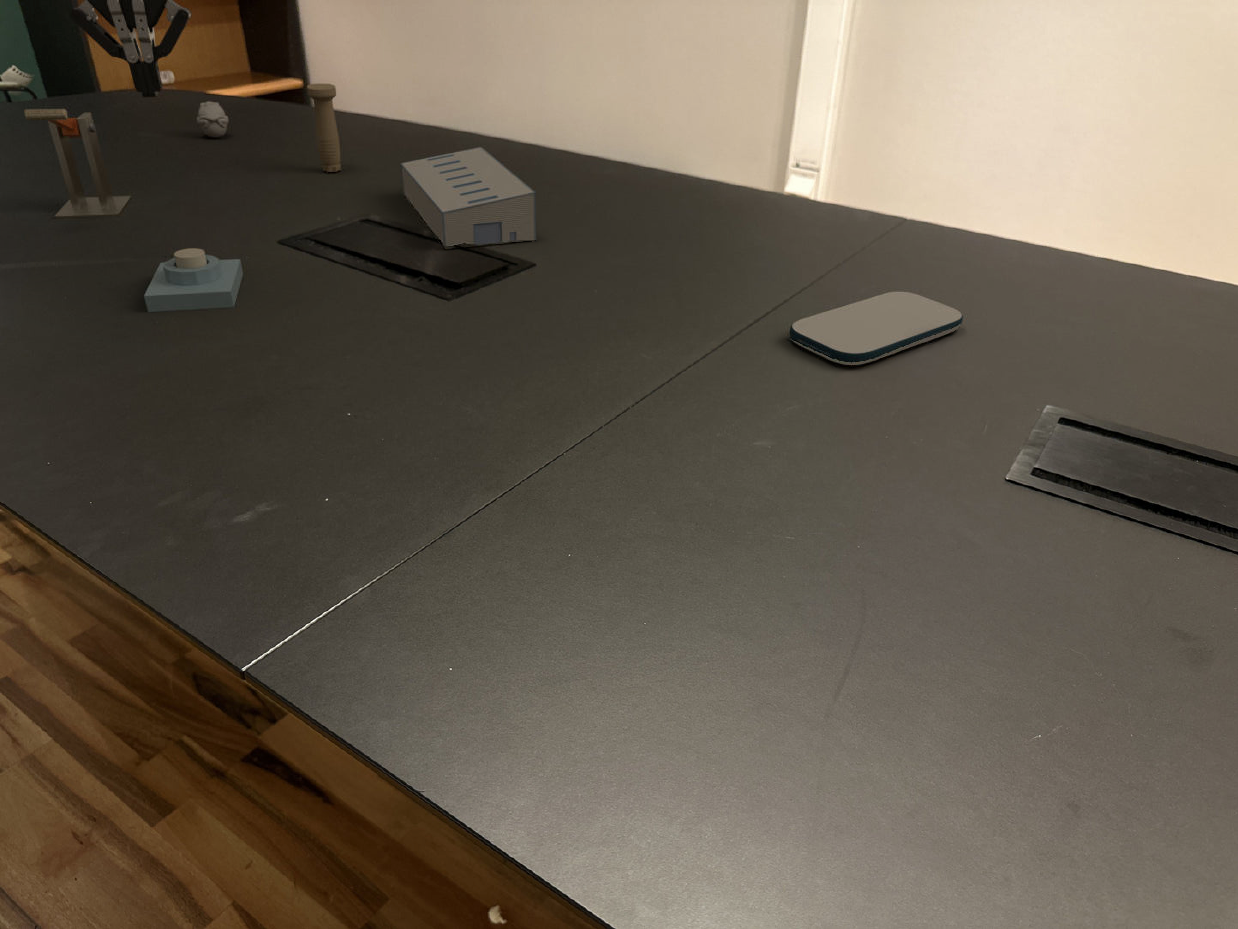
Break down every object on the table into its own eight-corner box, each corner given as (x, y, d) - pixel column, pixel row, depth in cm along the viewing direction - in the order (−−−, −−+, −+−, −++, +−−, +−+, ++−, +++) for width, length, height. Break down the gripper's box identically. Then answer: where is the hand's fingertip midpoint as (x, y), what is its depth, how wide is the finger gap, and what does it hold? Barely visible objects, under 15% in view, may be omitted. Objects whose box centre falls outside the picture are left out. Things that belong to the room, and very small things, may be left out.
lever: (65, 122, 126) (62, 104, 126) (26, 122, 125) (22, 104, 125) (94, 137, 139) (92, 121, 138) (59, 138, 138) (56, 121, 137)
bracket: (120, 221, 141) (94, 122, 133) (56, 223, 138) (26, 122, 131) (132, 203, 149) (109, 108, 141) (72, 205, 147) (45, 109, 139)
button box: (234, 307, 113) (227, 277, 111) (148, 312, 111) (140, 281, 109) (243, 274, 123) (237, 245, 121) (164, 278, 121) (157, 249, 119)
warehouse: (403, 196, 158) (399, 151, 153) (483, 190, 163) (481, 146, 158) (444, 250, 134) (441, 199, 130) (536, 241, 139) (535, 191, 135)
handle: (320, 176, 166) (308, 90, 159) (317, 167, 172) (306, 83, 164) (347, 175, 168) (336, 89, 160) (343, 166, 173) (333, 83, 165)
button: (205, 270, 114) (202, 256, 113) (174, 271, 113) (171, 258, 112) (208, 260, 117) (206, 247, 116) (179, 261, 116) (176, 248, 115)
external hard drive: (898, 301, 123) (900, 287, 122) (970, 330, 115) (974, 315, 114) (777, 339, 111) (779, 324, 110) (849, 374, 103) (852, 359, 102)
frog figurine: (230, 132, 193) (223, 98, 190) (232, 140, 188) (226, 104, 184) (199, 134, 191) (192, 99, 187) (201, 141, 186) (194, 105, 182)
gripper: (34, -74, 94) (82, 103, 103) (171, -71, 97) (206, 100, 106) (53, -75, 100) (97, 91, 109) (181, -73, 103) (213, 89, 112)
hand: (151, 95), depth 107 cm, fingers closed
